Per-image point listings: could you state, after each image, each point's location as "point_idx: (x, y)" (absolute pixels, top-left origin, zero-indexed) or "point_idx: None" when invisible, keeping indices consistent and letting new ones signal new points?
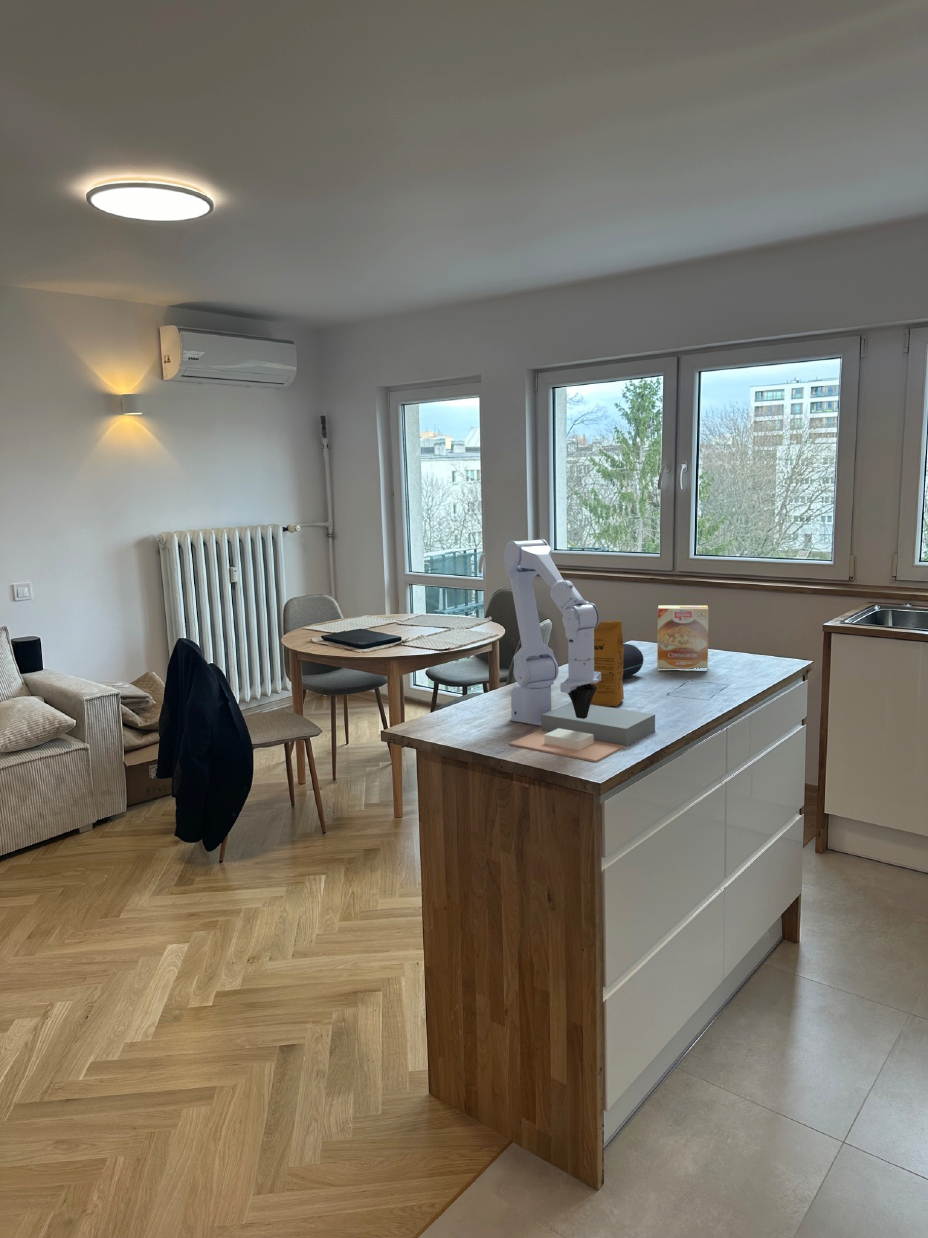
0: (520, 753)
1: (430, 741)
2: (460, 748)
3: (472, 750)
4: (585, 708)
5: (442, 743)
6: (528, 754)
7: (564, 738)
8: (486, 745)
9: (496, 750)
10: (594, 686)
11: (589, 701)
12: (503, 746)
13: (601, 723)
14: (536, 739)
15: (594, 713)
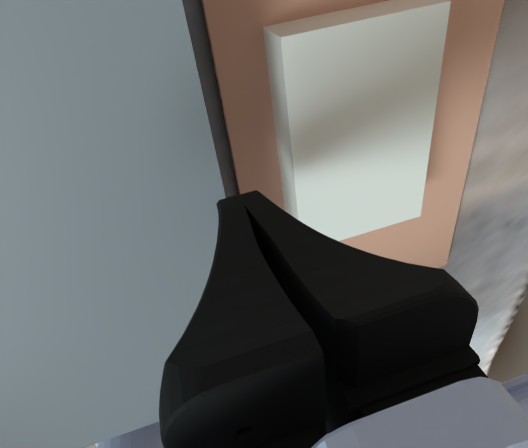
0: (511, 172)
1: (486, 368)
2: (515, 302)
3: (523, 275)
4: (289, 220)
5: (491, 348)
6: (514, 145)
7: (434, 110)
8: (469, 290)
9: (504, 241)
10: (222, 408)
11: (249, 263)
12: (460, 259)
13: (170, 79)
14: (367, 249)
15: (16, 294)
